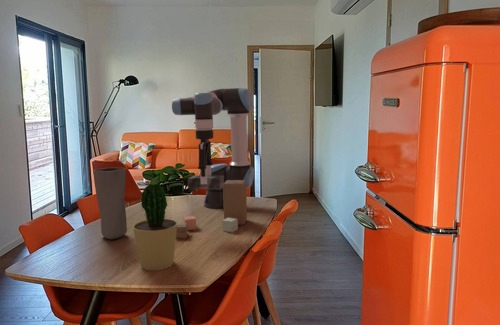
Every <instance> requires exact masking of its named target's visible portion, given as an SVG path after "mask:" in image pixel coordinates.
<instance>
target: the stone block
mask: <svg viewBox="0 0 500 325" xmlns="http://www.w3.org/2000/svg"><path fill="white" fill-rule="evenodd" d="M223 187H224V176H207V184H201V180H200V175H192V176H190V177H187V189H189V190H200V189H204V190H207V189H213V190H214V189H217V190H221V189H222V188H223Z"/></svg>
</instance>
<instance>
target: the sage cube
mask: <svg viewBox="0 0 500 325" xmlns="http://www.w3.org/2000/svg"><path fill="white" fill-rule="evenodd" d="M221 222H222V224H221V226H222V232H228V233H234V232H235V231H237V230H238V228H239V225H238V219H235V218H226V219H224V218H223V219H222V220H221Z"/></svg>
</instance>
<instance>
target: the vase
mask: <svg viewBox="0 0 500 325" xmlns="http://www.w3.org/2000/svg"><path fill="white" fill-rule="evenodd" d="M93 180H94V181H93V183H94V188H95V194H96V200H97V206H98V210H99V215H100V228H101V229H100V230H101V235H102V236H103V238H105V239H108V240H116V239H120V238H123V237H125V235H126V234H127V232H128V227H127V226H128V222H127V213H126V212H127V211H126V201H125V196H126V185H127V184H126V183H127V182H126V181H127V169H126V167H103V168H96V169H93Z"/></svg>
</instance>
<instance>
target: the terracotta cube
mask: <svg viewBox="0 0 500 325" xmlns="http://www.w3.org/2000/svg"><path fill="white" fill-rule="evenodd" d="M182 219H183V223H182V224H185V223H187V231H191V230H197V218H196V216H195V215H188V216H183V218H182Z"/></svg>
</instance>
